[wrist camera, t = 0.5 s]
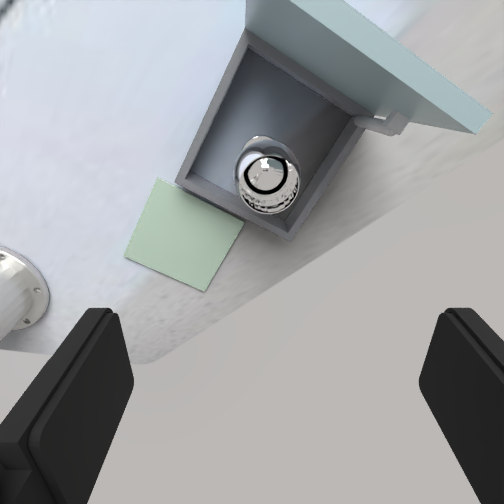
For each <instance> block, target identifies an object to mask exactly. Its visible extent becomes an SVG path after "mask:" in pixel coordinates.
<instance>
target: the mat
mask: <svg viewBox="0 0 504 504" xmlns="http://www.w3.org/2000/svg"><path fill="white" fill-rule="evenodd" d="M244 223H245V222H244V221H242V220H241V219H239V218H237V217H235V216H233V215H231V214H229V213H227V212H225V211H223V210H221V209H219V208H217V207H215V206H213V205H211V204H209V203H207V202H205V201H203V200H201V199H200V198H198V197H196V196H194V195H192V194H190V193H188V192H186V191H184V190H182V189H180V188H178V187H176V186H174V185H172V184H170V183H168V182H166V181H164V180H162V179H160V178H159V177H158V178H157V180H156V182H155V184H154V187H153V189H152V191H151V194H150V196H149V198H148V201H147V203H146V205H145V207H144V210H143V212H142V214H141V217H140V219H139V221H138V224H137V226H136V228H135V230H134V233H133V235H132V237H131V240H130V242H129V244H128V247H127V249H126V251H125V253H124V257H126V258H129V259H131V260H133V261H136V262H138V263H140V264H142V265H145V266H147V267H149V268H151V269H154V270H156V271H158V272H161V273H163V274H165V275H167V276H170V277H172V278H174V279H176V280H179V281H181V282H183V283H186V284H188V285H190V286H192V287H195V288H197V289H199V290H201V291H204V292H205V290H206V288H207V286H208V285H209V283H210V281H211V280H212V278H213V276H214V274H215V273H216V271H217V269H218V268H219V266H220V264H221V262H222V261H223V259H224V257H225V256H226V254H227V252H228V250H229V249H230V247H231V245H232V244H233V242H234V240H235V238H236V237H237V235H238V233H239V232H240V230H241V228H242V227H243V225H244Z"/></svg>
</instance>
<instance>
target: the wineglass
mask: <svg viewBox="0 0 504 504" xmlns="http://www.w3.org/2000/svg"><path fill="white" fill-rule="evenodd" d="M233 182H234V186H235V189H236V191H237V194H238V195H239V197H240V198H241V200H242V201H243V202H244V203H245V204H246V205H247V206H248V207H250V208H251V209H252V210H254V211H256V212H259V213H262V214H274V213H278V212H281V211H283V210H285V209H286V208H288V207H289V206H290V205H291V204H292V203H293V201H294V200H295V198H296V196H297V194H298V192H299V189H300V185H301V170H300V165H299V162H298V160H297V158H296V156H295V155H294V154H293V152H292V151H291V150H290V149H289V148H288V147H287V146H285V145H284V144H282V143H280V142H277V141H275V140H273V139H272V138H270V137H268V136H256V137H253V138H252V139H250V140H249V141H248V142H247V143H246V144H245V145H244V147H243V149H242V152H241V153H240V154H239V156H238V157H237V159H236V162H235V164H234V169H233Z"/></svg>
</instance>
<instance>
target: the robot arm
mask: <svg viewBox="0 0 504 504" xmlns="http://www.w3.org/2000/svg"><path fill="white" fill-rule="evenodd" d="M48 304H49V293H48V288H47V285H46V283H45V280H44V279H43V277H42V276H41V274H40V272H39V271H38V270H37V269H36V268H35V267H34V266H33V265H32V264H31V263H30V262H29V261H27V260H26V259H25V258H24V257H22V256H20V255H19V254H17V253H16V252H13V251H11V250H9V249H7V248H4V247H1V246H0V341H1V340H2V339H3V338H4V337H5V336H6V335H7V334H8V333H9V332H10V331H11V330H19V329H24V328H26V327H29V326H31V325H32V324H34V323H36V322H37V321H38V320H39V319H40V318H41V317H42V315H43V314H44V313H45V311H46V309H47V306H48ZM133 386H134V378H133V373H132V369H131V365H130V361H129V357H128V352H127V348H126V344H125V340H124V336H123V332H122V328H121V324H120V320H119V316H118V314H117V313H113V311H112V310H111V309H110V308H89V309H87V310H86V312H85V313H84V314H83V316H82V317H81V318H80V320H79V321H78V322H77V324H76V325H75V326H74V328H73V329H72V330H71V332H70V333H69V334H68V336H67V337H66V338H65V340H64V341H63V342H62V344H61V345H60V347H59V348H58V349H57V351H56V352H55V353H54V355H53V356H52V357H51V358H50V359H49V360H48V362H47V363H46V364H45V366H44V367H43V368H42V369H41V371H40V372H39V374H38V375H37V376H36V377H35V379H34V380H33V381H32V383H31V384H30V386H29V387H28V388H27V390H26V391H25V392H24V394H23V395H22V396H21V398H20V399H19V400H18V402H17V403H16V404H15V406H14V407H13V408H12V410H11V411H10V412H9V414H8V415H7V416H6V418H5V419H4V420H3V422H2V423H1V424H0V504H87V502H88V500H89V497H90V495H91V493H92V490H93V488H94V485H95V483H96V480H97V478H98V475H99V472H100V470H101V467H102V465H103V463H104V460H105V457H106V455H107V453H108V450H109V448H110V445H111V442H112V440H113V438H114V435H115V433H116V430H117V428H118V425H119V423H120V420H121V418H122V415H123V413H124V410H125V408H126V405H127V402H128V400H129V398H130V395H131V393H132V390H133ZM419 387H420V390H421V392H422V394H423V396H424V398H425V400H426V402H427V404H428V406H429V408H430V409H431V411H432V413H433V415H434V417H435V419H436V421H437V423H438V424H439V426H440V428H441V430H442V432H443V434H444V436H445V438H446V439H447V441H448V443H449V445H450V447H451V449H452V451H453V452H454V454H455V456H456V458H457V460H458V462H459V464H460V465H461V467H462V469H463V471H464V473H465V475H466V477H467V479H468V480H469V482H470V484H471V486H472V488H473V490H474V492H475V494H476V495H477V497H478V499H479V501H480V503H481V504H504V341H503V340H502V339H501V338H500V337H499V336H498V335H497V334H496V333H495V332H494V331H493V330H492V329H491V328H490V327H489V325H488V324H487V323H486V322H485V321H484V320H483V319H482V318H481V317H480V316H479V315H478V314H477V313H476V312H475V311H474V310H473V309H471V308H448V309H446V310H445V312H444V313H441V314H440V315H439V317H438V320H437V324H436V327H435V330H434V333H433V336H432V339H431V342H430V346H429V349H428V352H427V355H426V358H425V361H424V365H423V368H422V371H421V374H420V377H419Z"/></svg>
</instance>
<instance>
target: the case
mask: <svg viewBox="0 0 504 504" xmlns="http://www.w3.org/2000/svg"><path fill="white" fill-rule="evenodd" d="M248 48H249V49H250V50H252V51H254V52H255V53H257V54H258V55H260V56H261V57H263V58H264V59H266V60H267V61H269V62H270V63H272V64H273V65H275V66H276V67H278V68H279V69H281V70H282V71H284V72H286V73H287V74H289V75H290V76H292V77H293V78H295V79H296V80H298V81H299V82H301V83H302V84H304V85H305V86H307V87H308V88H310V89H311V90H313V91H314V92H316V93H317V94H319V95H321V96H322V97H324V98H325V99H327V100H328V101H330V102H331V103H333V104H334V105H336V106H337V107H339V108H340V109H342V110H343V111H345V112H346V113H348V114H349V115H351V116H352V117H351V118H350V120H349V121H348V123H347V125H346V126H345V128H344V129H343V131H342V132H341V134H340V136H339V137H338V139H337V140H336V142H335V143H334V145H333V147H332V148H331V150H330V151H329V153H328V154H327V156H326V157H325V159H324V161H323V162H322V164H321V165H320V167H319V168H318V170H317V172H316V173H315V175H314V176H313V178H312V179H311V181H310V183H309V184H308V186H307V187H306V189H305V190H304V192H303V194H302V195H301V197H300V198H299V200H298V201H297V203H296V204H295V206H294V208H293V209H292V211H291V212H290V214H289V215H288V217H287V219H286V220H285V222H284V221H283V220H281V219H279V218H277V217H275V216H273V215H271V214H262V213H259V212H256V211H254V210H252V209H251V208H250V207H248V206H247V205H246V204H245V203H244V202H243V201H242V200H241V198H239V197H237V196H235V195H233V194H232V193H230V192H228V191H226V190H224V189H222V188H220V187H218V186H216V185H215V184H213V183H211V182H209V181H207V180H205V179H203V178H201V177H199V176H198V175H196V174H194V173H192V172H190V170H191V167H192V165H193V163H194V161H195V159H196V157H197V155H198V153H199V151H200V148H201V146H202V144H203V142H204V140H205V138H206V136H207V134H208V132H209V129H210V127H211V125H212V123H213V121H214V119H215V117H216V115H217V113H218V110H219V108H220V106H221V104H222V102H223V100H224V98H225V96H226V94H227V91H228V89H229V87H230V85H231V83H232V81H233V79H234V77H235V75H236V72H237V70H238V68H239V66H240V64H241V62H242V60H243V58H244V55H245V53H246V51H247V49H248ZM492 114H493V113H492V112H491V111H489V110H488V109H487V108H485V107H484V106H483V105H481V104H480V103H479V102H477V101H476V100H475V99H473V98H472V97H471V96H469V95H468V94H467V93H466V92H464V91H463V90H462V89H460V88H459V87H458V86H456V85H455V84H454V83H452V82H451V81H450V80H448V79H447V78H446V77H444V76H443V75H442V74H440V73H439V72H438V71H436V70H435V69H434V68H432V67H431V66H430V65H428V64H427V63H426V62H424V61H423V60H422V59H420V58H419V57H418V56H416V55H415V54H414V53H413V52H411V51H410V50H409V49H407V48H406V47H405V46H403V45H402V44H401V43H399V42H398V41H397V40H395V39H394V38H393V37H391V36H390V35H389V34H387V33H386V32H385V31H383V30H382V29H381V28H379V27H378V26H377V25H375V24H374V23H373V22H371V21H370V20H369V19H367V18H366V17H365V16H364V15H362V14H361V13H360V12H358V11H357V10H356V9H354V8H353V7H352V6H350V5H349V4H348V3H346V2H345V1H344V0H246V14H245V29H244V31H243V33H242V36H241V38H240V40H239V42H238V44H237V47H236V49H235V51H234V53H233V55H232V57H231V60H230V62H229V64H228V66H227V68H226V70H225V73H224V75H223V77H222V79H221V81H220V84H219V86H218V88H217V90H216V92H215V94H214V97H213V99H212V101H211V103H210V105H209V107H208V110H207V112H206V114H205V116H204V118H203V121H202V123H201V125H200V127H199V129H198V131H197V134H196V136H195V138H194V140H193V142H192V144H191V147H190V149H189V151H188V153H187V155H186V158H185V160H184V162H183V164H182V166H181V168H180V171H179V173H178V175H177V177H176V179H175V181H174V182H175V183H177V184H179V185H181V186H183V187H185V188H187V189H189V190H191V191H193V192H194V193H196V194H198V195H200V196H202V197H204V198H206V199H208V200H210V201H212V202H214V203H216V204H218V205H220V206H222V207H224V208H226V209H227V210H229V211H231V212H233V213H235V214H237V215H239V216H241V217H243V218H245V219H247V220H249V221H251V222H253V223H255V224H257V225H259V226H260V227H262V228H264V229H266V230H268V231H270V232H272V233H274V234H276V235H278V236H280V237H282V238H284V239H286V240H288V241H290V242H291V240H292V239H293V237H294V236H295V234H296V233H297V231H298V230H299V228H300V227H301V225H302V224H303V222H304V221H305V219H306V218H307V216H308V215H309V213H310V212H311V210H312V209H313V207H314V206H315V204H316V203H317V201H318V200H319V198H320V197H321V195H322V194H323V192H324V191H325V189H326V188H327V186H328V185H329V183H330V182H331V180H332V179H333V177H334V176H335V174H336V173H337V171H338V170H339V168H340V167H341V165H342V164H343V162H344V161H345V159H346V158H347V156H348V155H349V153H350V152H351V150H352V149H353V147H354V146H355V144H356V143H357V141H358V140H359V138H360V137H361V135H362V134H363V132H364V131H365V129H368V130H372V131H375V132H378V133H381V134H384V135H387V136H394V135H395V134H397V135H400V134H401V132H402V131H403V130H404V128H405V127H406V125H407V124H408V123H409V122H413V123H418V124H424V125H429V126H434V127H439V128H445V129H450V130H455V131H460V132H466V133H471V134H477V132H478V131H479V130H480V129H481V127H482V126H483V125H484V124H485V123H486V121H487V120H488V119H489V118H490V116H491V115H492ZM375 115H376V116H382V117H387V118H386V120H382V119H378V118H373V117H374V116H375Z"/></svg>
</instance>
